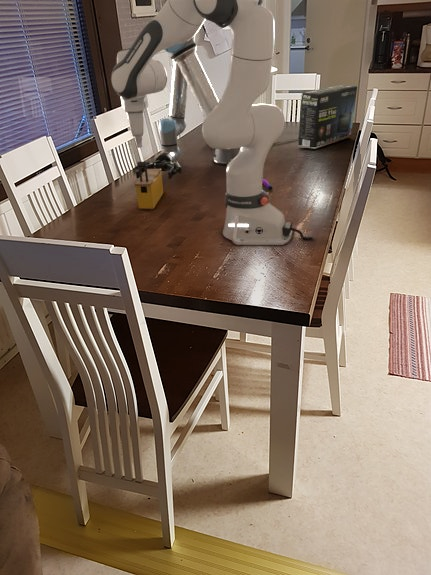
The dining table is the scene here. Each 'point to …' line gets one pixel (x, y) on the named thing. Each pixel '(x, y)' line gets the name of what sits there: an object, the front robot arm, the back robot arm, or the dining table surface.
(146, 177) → the lid
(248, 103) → the front robot arm
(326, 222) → the dining table surface
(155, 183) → the chest
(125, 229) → the dining table surface
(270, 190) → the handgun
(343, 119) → the router box
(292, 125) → the dining table surface
